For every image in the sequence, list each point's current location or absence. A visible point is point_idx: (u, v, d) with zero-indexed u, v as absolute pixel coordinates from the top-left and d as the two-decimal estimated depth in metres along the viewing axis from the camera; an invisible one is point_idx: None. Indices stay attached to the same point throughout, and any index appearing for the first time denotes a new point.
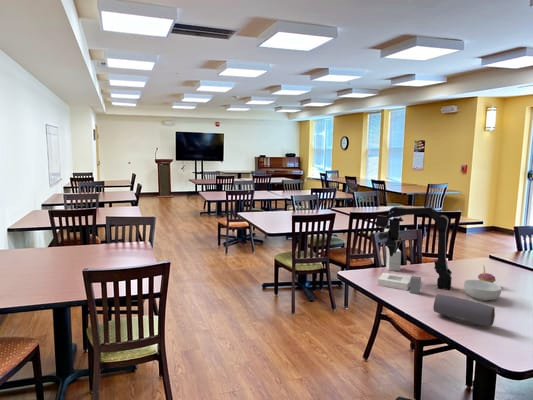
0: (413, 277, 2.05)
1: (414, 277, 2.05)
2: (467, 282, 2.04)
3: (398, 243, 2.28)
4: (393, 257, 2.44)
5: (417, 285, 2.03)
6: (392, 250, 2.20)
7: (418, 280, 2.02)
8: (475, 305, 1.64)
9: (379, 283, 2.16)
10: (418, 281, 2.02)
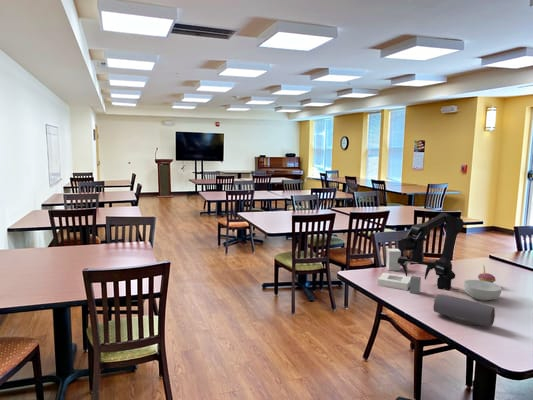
0: (413, 277, 2.05)
1: (414, 277, 2.05)
2: (467, 282, 2.04)
3: (426, 269, 2.00)
4: (393, 257, 2.44)
5: (417, 285, 2.03)
6: None
7: (418, 280, 2.02)
8: (475, 305, 1.64)
9: (379, 283, 2.16)
10: (418, 281, 2.02)
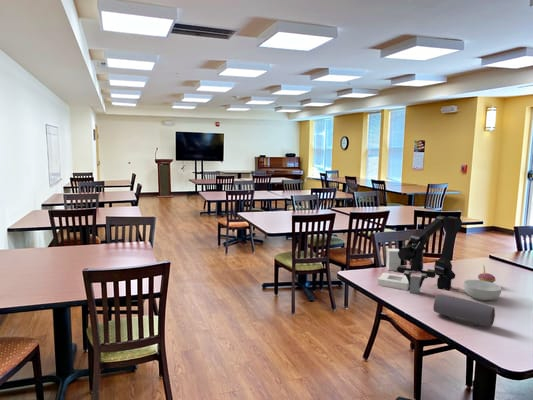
0: (413, 277, 2.05)
1: (414, 277, 2.05)
2: (467, 282, 2.04)
3: (421, 277, 2.02)
4: (393, 257, 2.44)
5: (417, 285, 2.03)
6: None
7: (418, 280, 2.02)
8: (475, 305, 1.64)
9: (379, 283, 2.16)
10: (418, 281, 2.02)
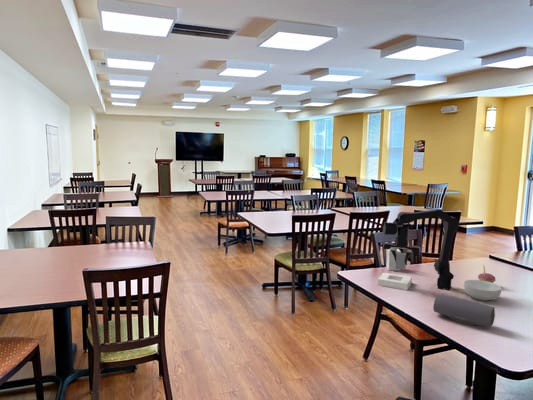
0: (399, 253, 2.13)
1: (400, 254, 2.12)
2: (467, 282, 2.04)
3: (406, 253, 2.10)
4: (393, 257, 2.44)
5: (403, 261, 2.11)
6: None
7: (403, 256, 2.10)
8: (475, 305, 1.64)
9: (379, 283, 2.16)
10: (403, 257, 2.10)
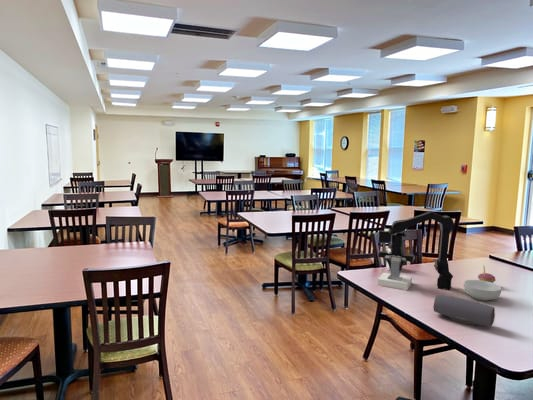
0: (393, 261, 2.17)
1: (395, 262, 2.17)
2: (467, 282, 2.04)
3: None
4: (393, 257, 2.44)
5: (397, 269, 2.15)
6: None
7: (398, 264, 2.14)
8: (475, 305, 1.64)
9: (379, 283, 2.16)
10: (398, 265, 2.15)
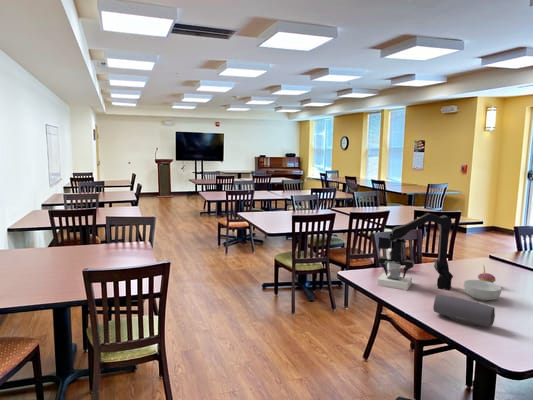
0: (393, 270, 2.18)
1: (394, 270, 2.17)
2: (467, 282, 2.04)
3: (404, 268, 2.13)
4: None
5: (396, 277, 2.16)
6: None
7: (397, 272, 2.15)
8: (475, 305, 1.64)
9: (379, 283, 2.16)
10: (397, 273, 2.15)
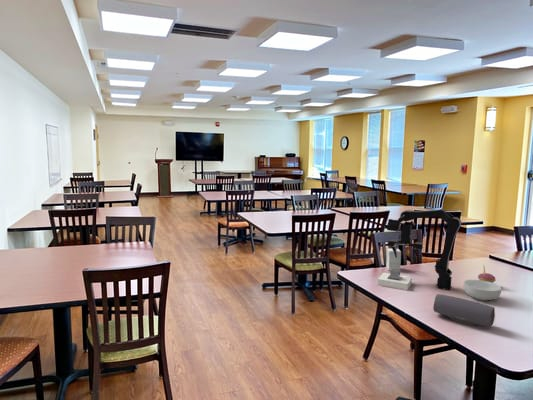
0: (393, 270, 2.18)
1: (394, 270, 2.17)
2: (467, 282, 2.04)
3: None
4: (393, 257, 2.44)
5: (396, 277, 2.16)
6: None
7: (397, 272, 2.15)
8: (475, 305, 1.64)
9: (379, 283, 2.16)
10: (397, 273, 2.15)
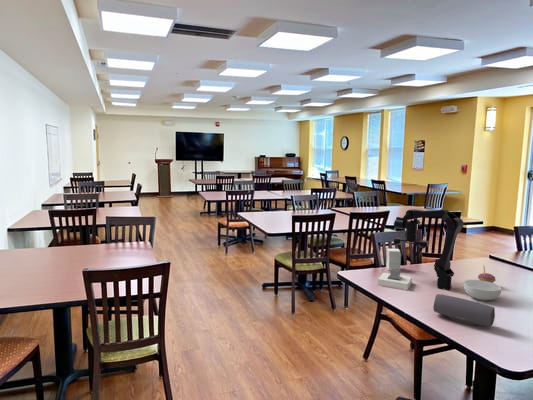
0: (393, 270, 2.18)
1: (394, 270, 2.17)
2: (467, 282, 2.04)
3: (419, 248, 2.24)
4: (393, 257, 2.44)
5: (396, 277, 2.16)
6: None
7: (397, 272, 2.15)
8: (475, 305, 1.64)
9: (379, 283, 2.16)
10: (397, 273, 2.15)
